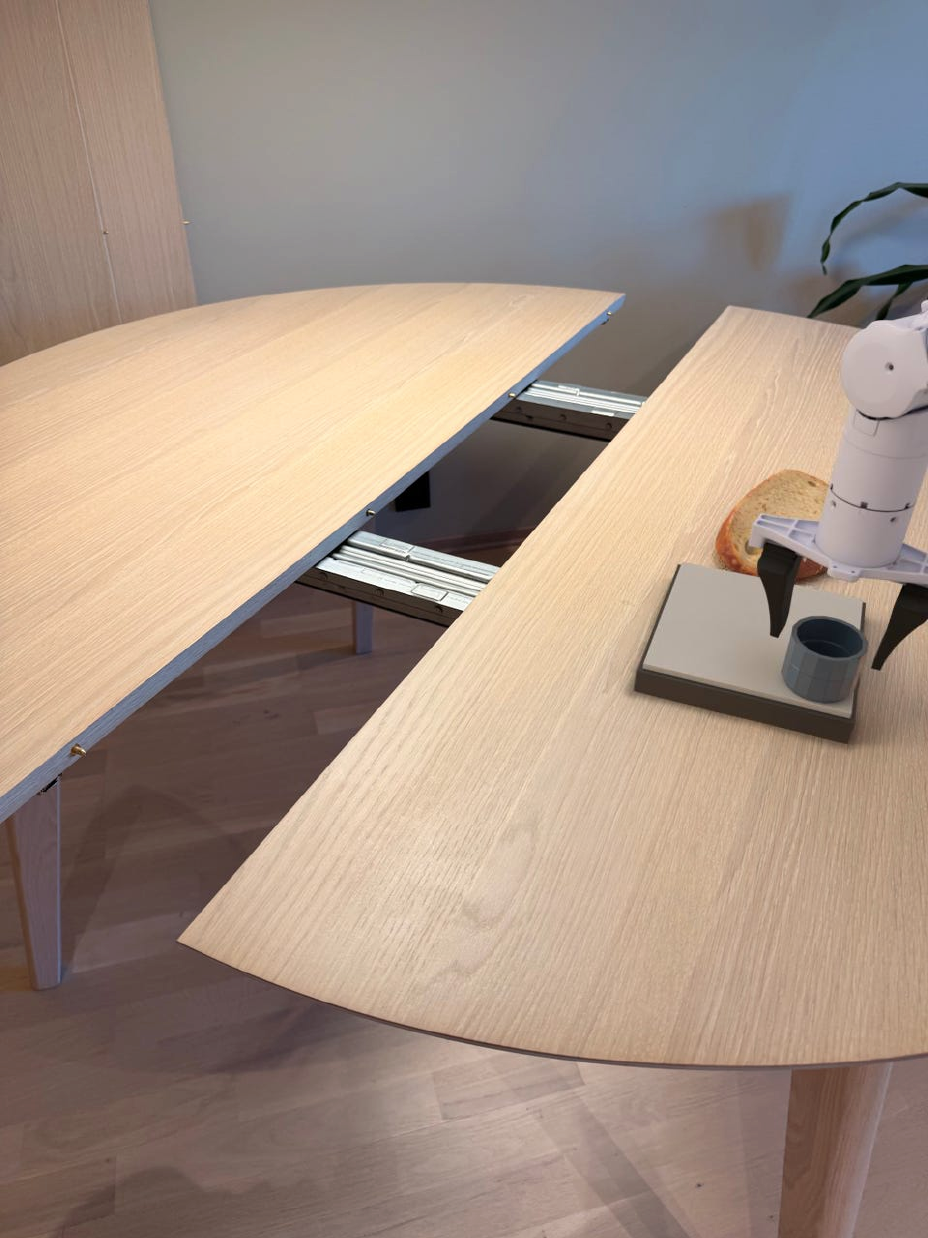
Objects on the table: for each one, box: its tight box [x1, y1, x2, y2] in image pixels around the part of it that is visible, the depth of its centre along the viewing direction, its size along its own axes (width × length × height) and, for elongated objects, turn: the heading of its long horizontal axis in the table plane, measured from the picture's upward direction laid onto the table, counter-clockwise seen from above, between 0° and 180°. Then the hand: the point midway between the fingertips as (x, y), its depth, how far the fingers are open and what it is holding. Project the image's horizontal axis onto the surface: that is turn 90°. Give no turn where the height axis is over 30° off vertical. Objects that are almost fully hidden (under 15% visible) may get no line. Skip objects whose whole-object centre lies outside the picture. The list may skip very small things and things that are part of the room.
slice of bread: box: [715, 469, 829, 579], centre depth 98 cm, size 18×18×4 cm
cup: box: [781, 616, 869, 703], centre depth 74 cm, size 6×6×4 cm
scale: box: [633, 561, 867, 745], centre depth 82 cm, size 17×17×3 cm
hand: (826, 646), depth 73 cm, fingers open, 7 cm apart
